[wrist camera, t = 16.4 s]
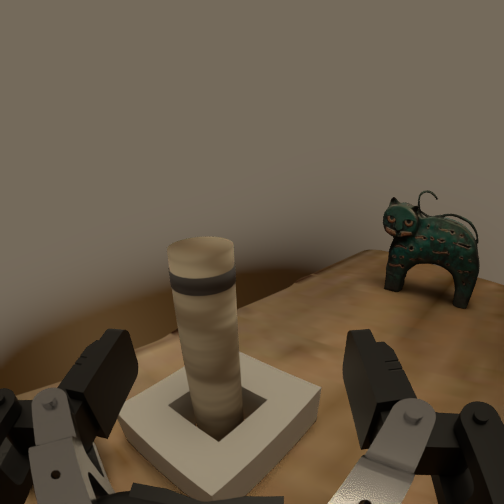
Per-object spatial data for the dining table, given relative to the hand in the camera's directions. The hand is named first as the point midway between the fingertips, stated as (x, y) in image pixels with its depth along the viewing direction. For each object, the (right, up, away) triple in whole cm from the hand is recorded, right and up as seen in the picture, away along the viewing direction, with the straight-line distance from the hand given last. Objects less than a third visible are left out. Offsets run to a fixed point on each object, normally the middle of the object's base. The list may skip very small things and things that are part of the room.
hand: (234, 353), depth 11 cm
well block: (-2, -15, +17) cm, 23 cm away
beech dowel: (-2, -15, +17) cm, 23 cm away
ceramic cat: (+34, -5, +44) cm, 56 cm away
